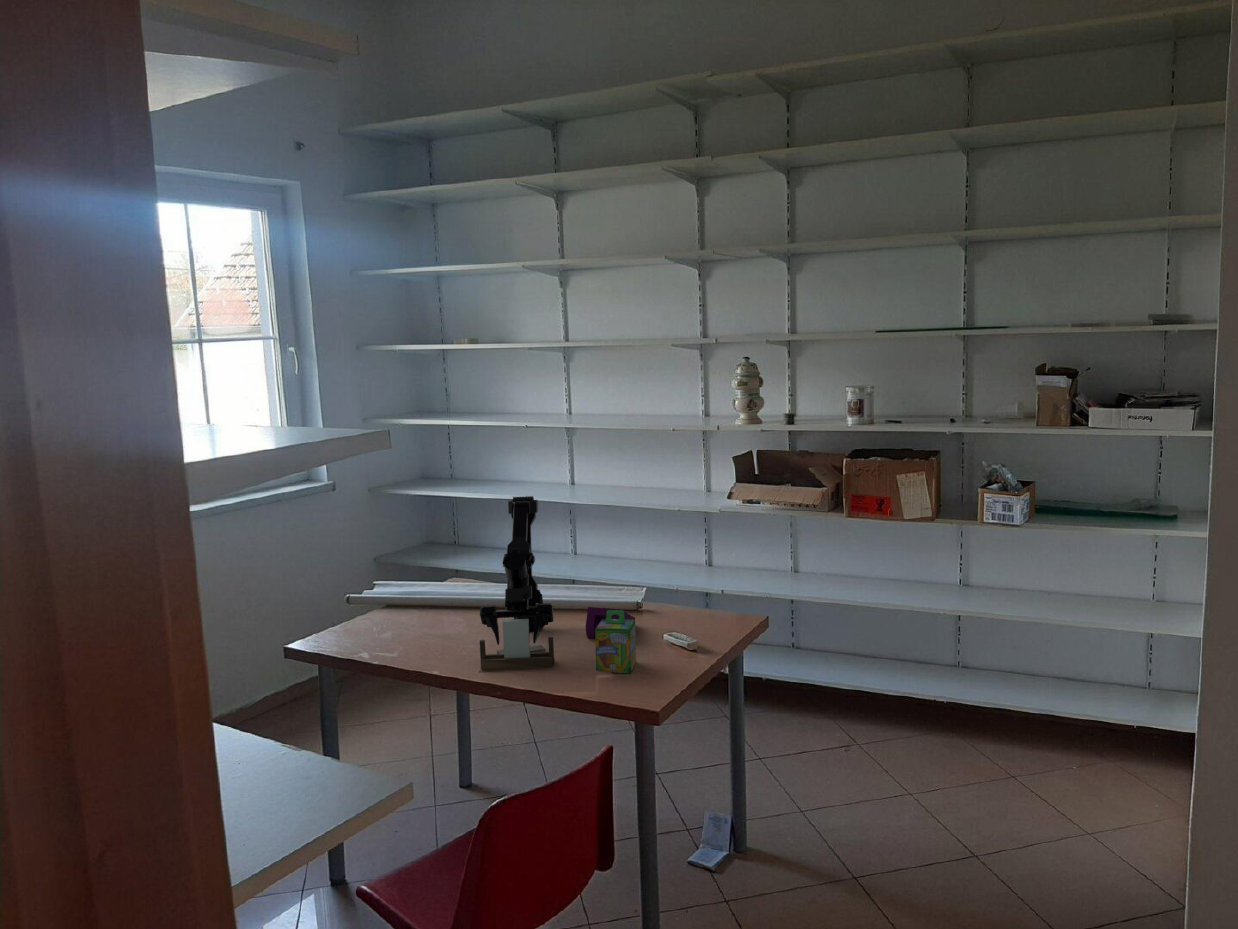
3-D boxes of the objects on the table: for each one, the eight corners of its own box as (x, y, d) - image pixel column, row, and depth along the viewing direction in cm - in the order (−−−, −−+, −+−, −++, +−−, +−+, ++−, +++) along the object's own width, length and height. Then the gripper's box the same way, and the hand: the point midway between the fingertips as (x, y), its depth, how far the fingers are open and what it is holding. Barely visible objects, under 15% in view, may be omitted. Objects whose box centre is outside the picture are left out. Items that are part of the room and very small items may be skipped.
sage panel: (505, 664, 239) (503, 619, 237) (530, 663, 239) (528, 618, 237) (504, 667, 237) (502, 622, 235) (530, 666, 237) (527, 621, 235)
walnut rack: (482, 664, 242) (481, 636, 241) (555, 661, 242) (554, 633, 241) (479, 675, 234) (477, 645, 233) (554, 672, 234) (552, 642, 233)
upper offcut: (497, 655, 246) (496, 650, 246) (540, 649, 250) (539, 643, 250) (501, 661, 241) (501, 655, 241) (545, 654, 246) (545, 648, 246)
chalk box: (595, 673, 232) (593, 616, 231) (602, 661, 241) (600, 606, 240) (631, 674, 231) (629, 616, 229) (637, 662, 240) (635, 606, 238)
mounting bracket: (606, 646, 272) (583, 637, 256) (609, 618, 275) (587, 607, 259) (636, 648, 269) (615, 639, 253) (639, 620, 271) (619, 609, 255)
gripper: (478, 576, 239) (475, 630, 229) (550, 573, 239) (550, 627, 229) (484, 597, 247) (481, 650, 238) (553, 594, 248) (553, 647, 238)
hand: (516, 643), depth 236 cm, fingers open, 9 cm apart
